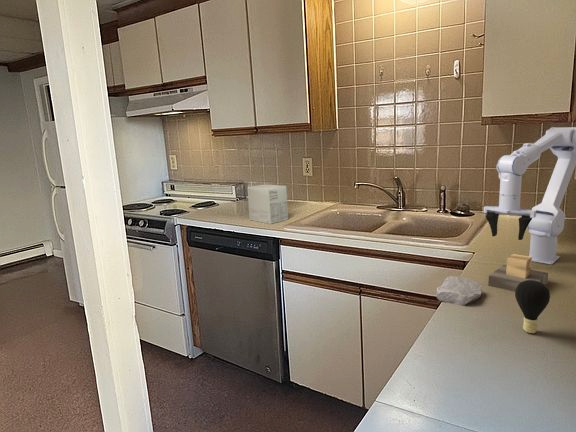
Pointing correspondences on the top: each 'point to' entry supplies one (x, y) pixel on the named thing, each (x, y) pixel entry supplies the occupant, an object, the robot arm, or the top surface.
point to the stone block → (458, 290)
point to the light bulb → (532, 302)
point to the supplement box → (268, 203)
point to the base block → (513, 279)
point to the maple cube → (519, 266)
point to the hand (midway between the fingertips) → (507, 237)
